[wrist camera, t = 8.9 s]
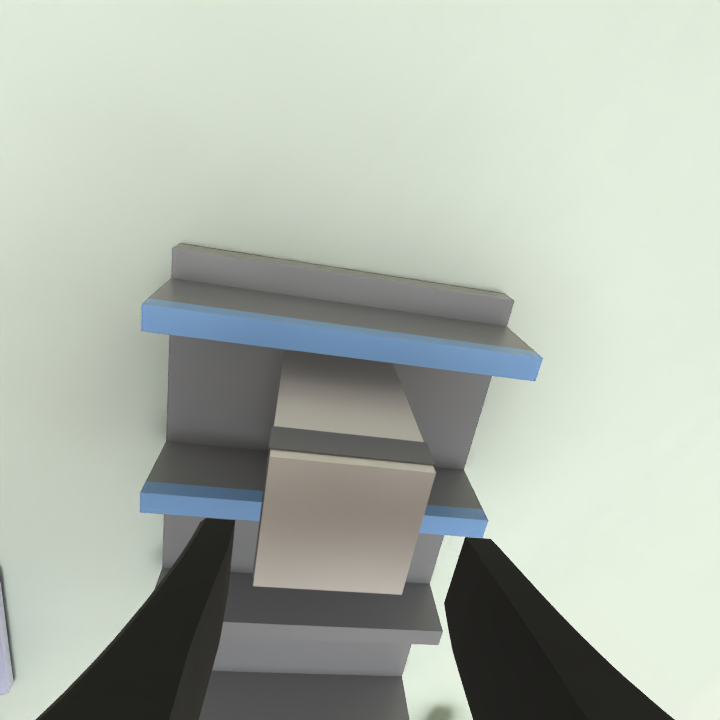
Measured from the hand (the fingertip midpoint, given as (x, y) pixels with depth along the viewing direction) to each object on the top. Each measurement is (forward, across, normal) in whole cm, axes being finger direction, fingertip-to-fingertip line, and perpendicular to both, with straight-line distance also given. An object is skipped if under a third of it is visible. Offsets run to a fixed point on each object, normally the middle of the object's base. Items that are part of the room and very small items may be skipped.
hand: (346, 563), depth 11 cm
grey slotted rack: (+9, 0, +6) cm, 11 cm away
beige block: (+8, 0, 0) cm, 8 cm away
